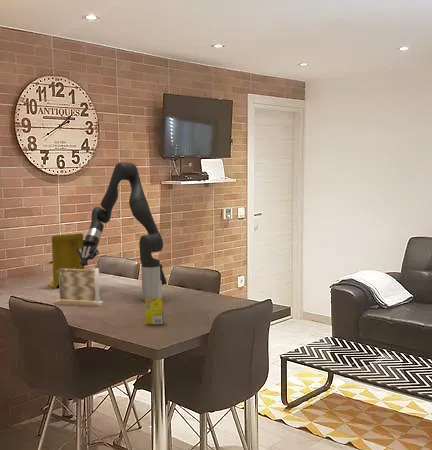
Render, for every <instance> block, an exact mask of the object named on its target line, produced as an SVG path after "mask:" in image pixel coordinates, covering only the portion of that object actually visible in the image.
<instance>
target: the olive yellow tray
mask: <svg viewBox="0 0 432 450" xmlns="http://www.w3.org/2000/svg"><path fill="white" fill-rule="evenodd" d="M85 237H86V235H84V234H83V233H82V232H80V233H67V234H56V235H51V251H52V252H51V254H52V255H51V256H52V258H51V259H52V260H51V261H47V262H39V263H38V265H39V266H43V265H52V278H53V279H52V281H50V283H47V286H49V287H51V288H52V289H53V290H56V289H57V287H58V286H59V268H63V269H85V267H88V264H89V262H88V261H89V260H88V261H87V264H86V265H85V266H82V265H81V263H80V262H81V260H82V259H81V258H80V257H79V255H78V253H77V251H76V249H78V250H79V249H81V247H82V246H83V242H84V240H85V239H84V238H85ZM81 255H83V252H82V251H81ZM92 260H93V264H94V266H96V263H95V259H94V258H93V259H92ZM93 270H94V272H95V269H93Z"/></svg>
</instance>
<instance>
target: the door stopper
mask: <svg viewBox="0 0 432 450" xmlns="http://www.w3.org/2000/svg"><path fill="white" fill-rule="evenodd" d="M160 280H161V281H162V286H163V285H164V286H165V285H168V283H167V279H166V276H165V273H164V270H163V265H162V264H161V263H160Z"/></svg>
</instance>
